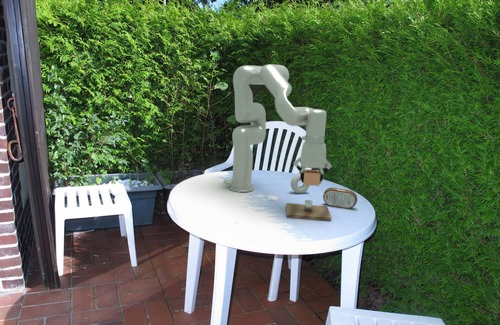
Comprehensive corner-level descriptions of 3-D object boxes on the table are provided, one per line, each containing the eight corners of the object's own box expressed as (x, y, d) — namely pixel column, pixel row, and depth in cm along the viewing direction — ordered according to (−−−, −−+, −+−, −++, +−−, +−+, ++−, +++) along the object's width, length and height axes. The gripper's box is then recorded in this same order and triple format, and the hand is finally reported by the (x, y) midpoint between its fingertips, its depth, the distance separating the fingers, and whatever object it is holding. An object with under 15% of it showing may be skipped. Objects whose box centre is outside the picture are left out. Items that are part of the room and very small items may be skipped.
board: (286, 217, 160) (287, 214, 160) (286, 206, 173) (286, 203, 173) (330, 221, 159) (331, 217, 158) (326, 209, 172) (327, 206, 172)
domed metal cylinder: (304, 211, 164) (305, 202, 163) (303, 208, 167) (304, 199, 167) (311, 211, 164) (312, 202, 163) (311, 209, 167) (312, 200, 166)
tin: (356, 208, 176) (358, 190, 174) (355, 210, 173) (357, 192, 171) (322, 203, 181) (324, 185, 179) (321, 205, 178) (323, 187, 176)
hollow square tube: (303, 184, 160) (304, 173, 159) (302, 180, 166) (303, 169, 165) (319, 185, 160) (320, 174, 158) (317, 181, 166) (318, 170, 165)
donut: (307, 191, 196) (309, 172, 194) (310, 194, 193) (312, 174, 191) (288, 192, 194) (290, 172, 192) (291, 194, 191) (292, 174, 188)
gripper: (293, 140, 156) (290, 183, 160) (337, 142, 155) (333, 186, 159) (293, 137, 163) (289, 178, 167) (334, 139, 162) (330, 181, 166)
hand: (310, 181), depth 163 cm, fingers closed on hollow square tube, 6 cm apart
